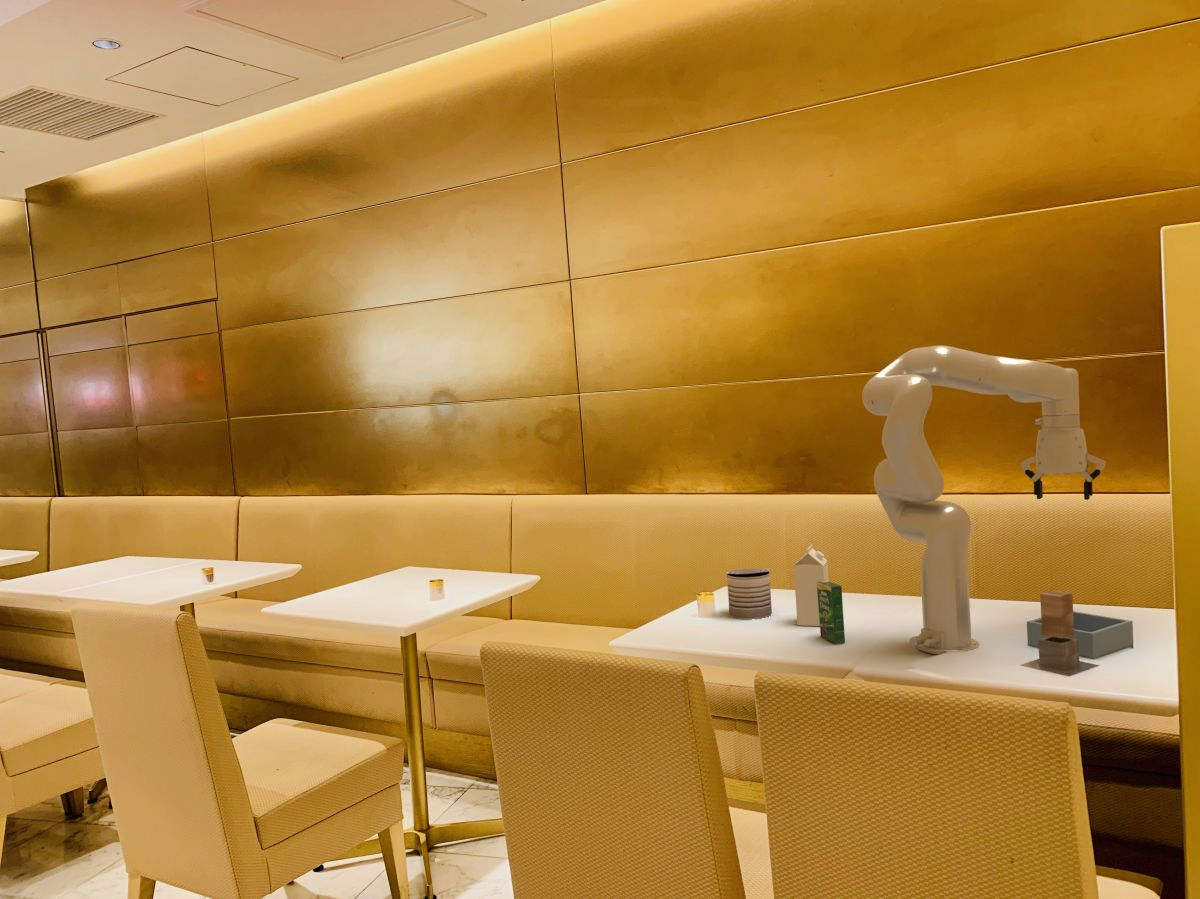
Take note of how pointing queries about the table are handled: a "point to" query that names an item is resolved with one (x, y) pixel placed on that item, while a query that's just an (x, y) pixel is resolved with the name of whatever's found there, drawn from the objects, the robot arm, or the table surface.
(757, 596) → the can
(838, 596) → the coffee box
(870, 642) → the table surface
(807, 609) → the milk carton
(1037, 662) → the stud plate
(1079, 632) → the bin
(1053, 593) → the strut
